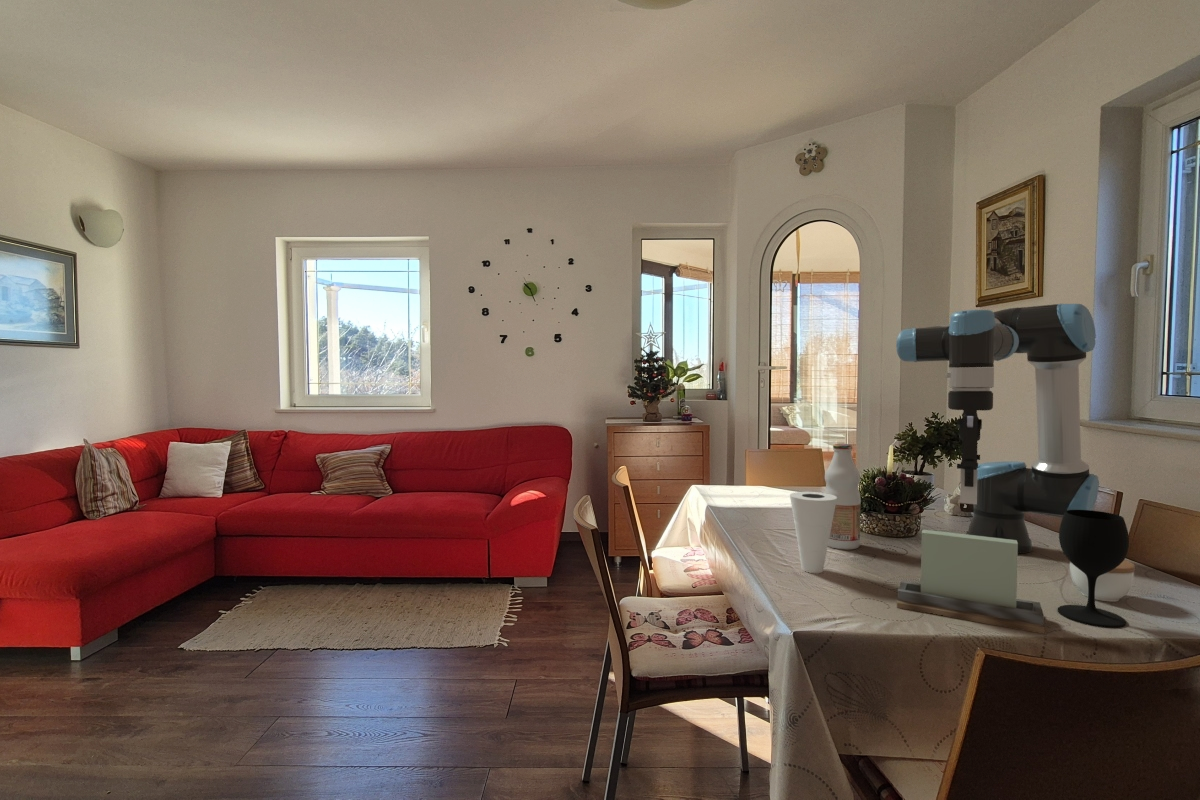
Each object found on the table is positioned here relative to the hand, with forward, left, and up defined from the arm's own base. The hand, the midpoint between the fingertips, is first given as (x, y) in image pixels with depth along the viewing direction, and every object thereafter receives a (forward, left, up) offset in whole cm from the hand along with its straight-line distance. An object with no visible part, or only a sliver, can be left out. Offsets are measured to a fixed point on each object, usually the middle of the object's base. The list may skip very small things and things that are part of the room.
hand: (968, 497), depth 119 cm
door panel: (0, 0, -22) cm, 22 cm away
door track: (0, 0, -23) cm, 23 cm away
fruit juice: (-5, -47, -23) cm, 52 cm away
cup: (+15, -30, -23) cm, 40 cm away
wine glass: (-21, +8, -23) cm, 32 cm away
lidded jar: (-34, 0, -23) cm, 41 cm away
